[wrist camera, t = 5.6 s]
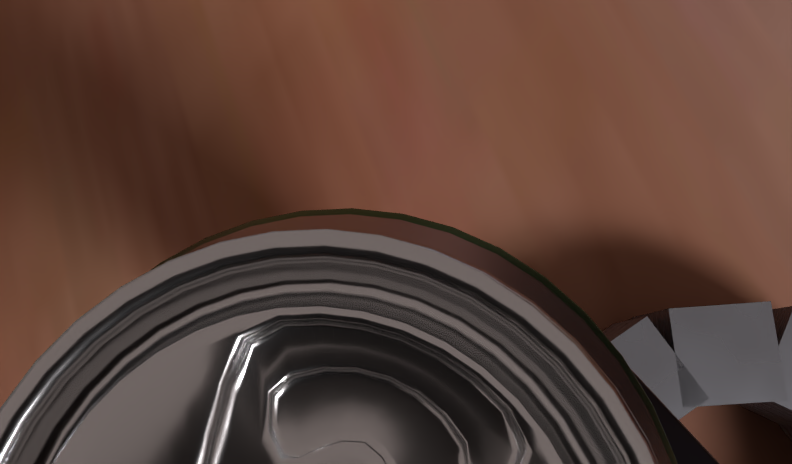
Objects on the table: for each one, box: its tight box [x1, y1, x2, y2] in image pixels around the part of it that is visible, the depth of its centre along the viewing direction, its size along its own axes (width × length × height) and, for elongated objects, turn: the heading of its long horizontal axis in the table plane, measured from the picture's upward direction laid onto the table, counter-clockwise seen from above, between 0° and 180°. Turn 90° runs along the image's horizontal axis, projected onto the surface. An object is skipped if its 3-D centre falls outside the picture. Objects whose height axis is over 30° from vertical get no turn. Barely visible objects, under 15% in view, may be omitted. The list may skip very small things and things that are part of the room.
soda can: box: [0, 208, 678, 464], centre depth 10 cm, size 5×5×12 cm
